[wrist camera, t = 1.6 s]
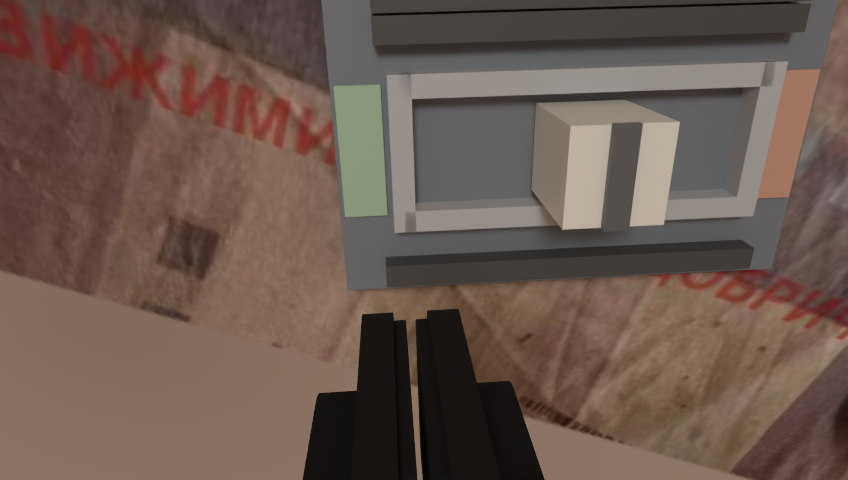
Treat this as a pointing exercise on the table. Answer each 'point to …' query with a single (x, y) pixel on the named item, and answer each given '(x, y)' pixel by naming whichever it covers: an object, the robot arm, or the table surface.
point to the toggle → (603, 163)
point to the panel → (515, 125)
